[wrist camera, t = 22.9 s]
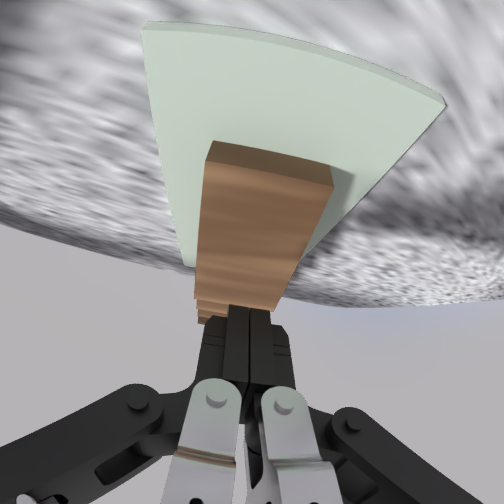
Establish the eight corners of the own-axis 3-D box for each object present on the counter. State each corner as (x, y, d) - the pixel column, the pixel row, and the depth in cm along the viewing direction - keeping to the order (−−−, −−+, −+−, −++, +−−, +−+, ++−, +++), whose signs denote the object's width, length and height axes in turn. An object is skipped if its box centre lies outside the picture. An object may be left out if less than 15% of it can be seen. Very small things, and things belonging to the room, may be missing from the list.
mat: (148, 21, 7) (140, 30, 7) (441, 95, 8) (445, 106, 8) (185, 260, 31) (184, 265, 31) (278, 276, 32) (278, 282, 32)
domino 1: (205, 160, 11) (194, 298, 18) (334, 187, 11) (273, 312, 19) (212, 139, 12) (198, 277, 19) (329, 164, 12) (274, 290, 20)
